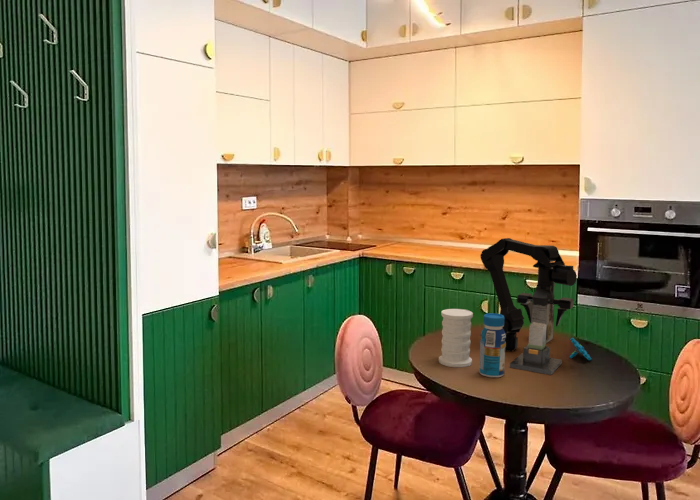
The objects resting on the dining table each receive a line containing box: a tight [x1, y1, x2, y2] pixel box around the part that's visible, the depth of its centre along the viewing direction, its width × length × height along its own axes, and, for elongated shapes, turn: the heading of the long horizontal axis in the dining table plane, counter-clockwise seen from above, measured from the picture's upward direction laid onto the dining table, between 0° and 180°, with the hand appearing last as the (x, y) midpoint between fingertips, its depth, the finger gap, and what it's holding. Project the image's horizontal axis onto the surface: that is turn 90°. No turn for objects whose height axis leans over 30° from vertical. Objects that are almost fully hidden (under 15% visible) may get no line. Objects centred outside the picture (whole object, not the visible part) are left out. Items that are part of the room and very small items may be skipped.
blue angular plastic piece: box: [569, 337, 592, 361], centre depth 225 cm, size 11×6×10 cm
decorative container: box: [438, 308, 474, 368], centre depth 218 cm, size 12×12×18 cm
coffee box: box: [530, 304, 555, 344], centre depth 247 cm, size 9×6×16 cm
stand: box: [509, 344, 562, 376], centre depth 216 cm, size 14×14×7 cm
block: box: [527, 322, 547, 351], centre depth 215 cm, size 5×5×9 cm
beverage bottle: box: [478, 312, 506, 378], centre depth 206 cm, size 8×8×20 cm
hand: (543, 324), depth 222 cm, fingers open, 9 cm apart
